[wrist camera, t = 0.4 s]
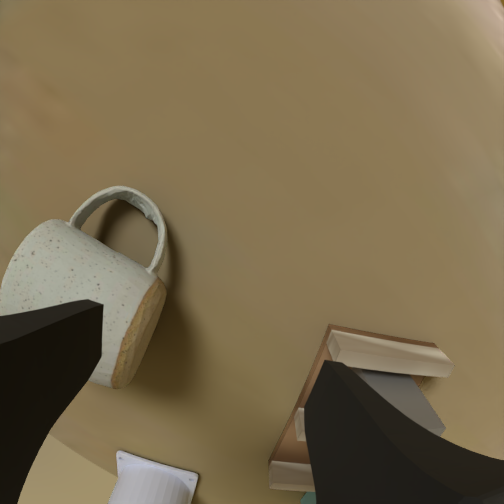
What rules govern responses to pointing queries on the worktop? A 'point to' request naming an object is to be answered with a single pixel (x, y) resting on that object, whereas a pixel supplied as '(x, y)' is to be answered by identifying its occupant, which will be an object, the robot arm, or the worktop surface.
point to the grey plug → (403, 397)
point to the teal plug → (309, 498)
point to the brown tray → (352, 355)
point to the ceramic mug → (92, 282)
